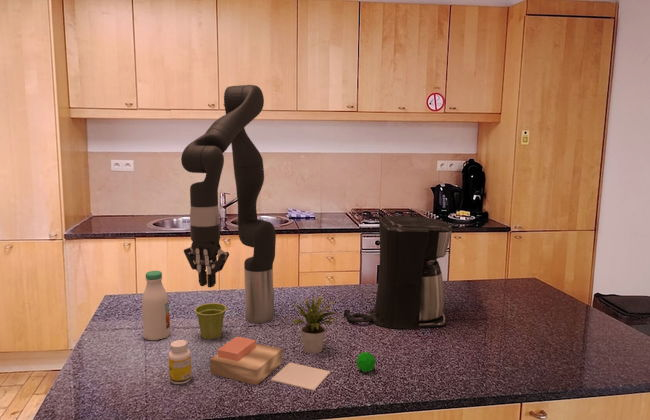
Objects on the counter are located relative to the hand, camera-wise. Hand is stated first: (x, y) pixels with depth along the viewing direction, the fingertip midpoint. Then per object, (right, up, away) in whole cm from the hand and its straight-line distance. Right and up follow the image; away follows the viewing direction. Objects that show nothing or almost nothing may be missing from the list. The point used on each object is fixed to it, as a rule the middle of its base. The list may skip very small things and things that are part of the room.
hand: (207, 285), depth 134 cm
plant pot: (-3, -18, +19) cm, 26 cm away
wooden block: (+11, -22, -1) cm, 24 cm away
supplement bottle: (-5, -23, -7) cm, 24 cm away
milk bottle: (-20, -18, +19) cm, 33 cm away
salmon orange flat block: (+8, -17, -1) cm, 19 cm away
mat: (+25, -22, -5) cm, 34 cm away
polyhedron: (+42, -22, -2) cm, 48 cm away
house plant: (+27, -20, +9) cm, 35 cm away
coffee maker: (+56, -16, +36) cm, 69 cm away
